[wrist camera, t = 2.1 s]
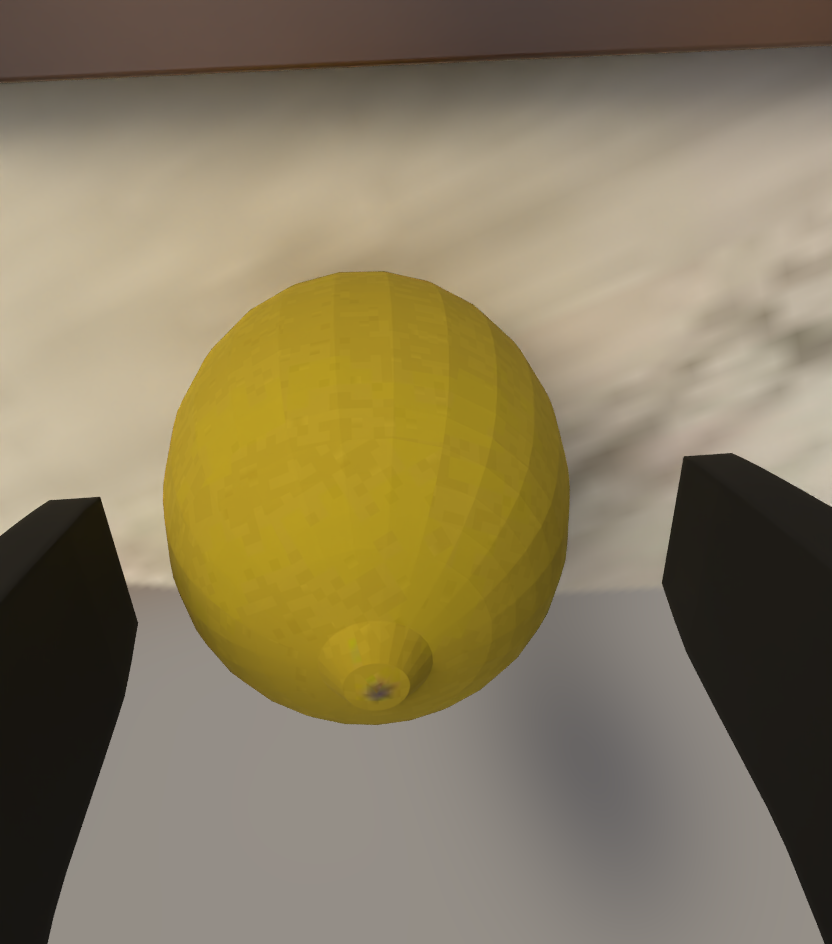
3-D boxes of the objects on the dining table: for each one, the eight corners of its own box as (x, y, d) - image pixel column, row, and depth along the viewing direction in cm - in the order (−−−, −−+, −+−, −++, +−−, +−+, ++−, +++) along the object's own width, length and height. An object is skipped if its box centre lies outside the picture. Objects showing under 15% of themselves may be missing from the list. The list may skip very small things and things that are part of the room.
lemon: (308, 525, 17) (279, 904, 10) (151, 298, 14) (-42, 609, 7) (553, 419, 16) (708, 757, 9) (439, 151, 13) (539, 347, 6)
